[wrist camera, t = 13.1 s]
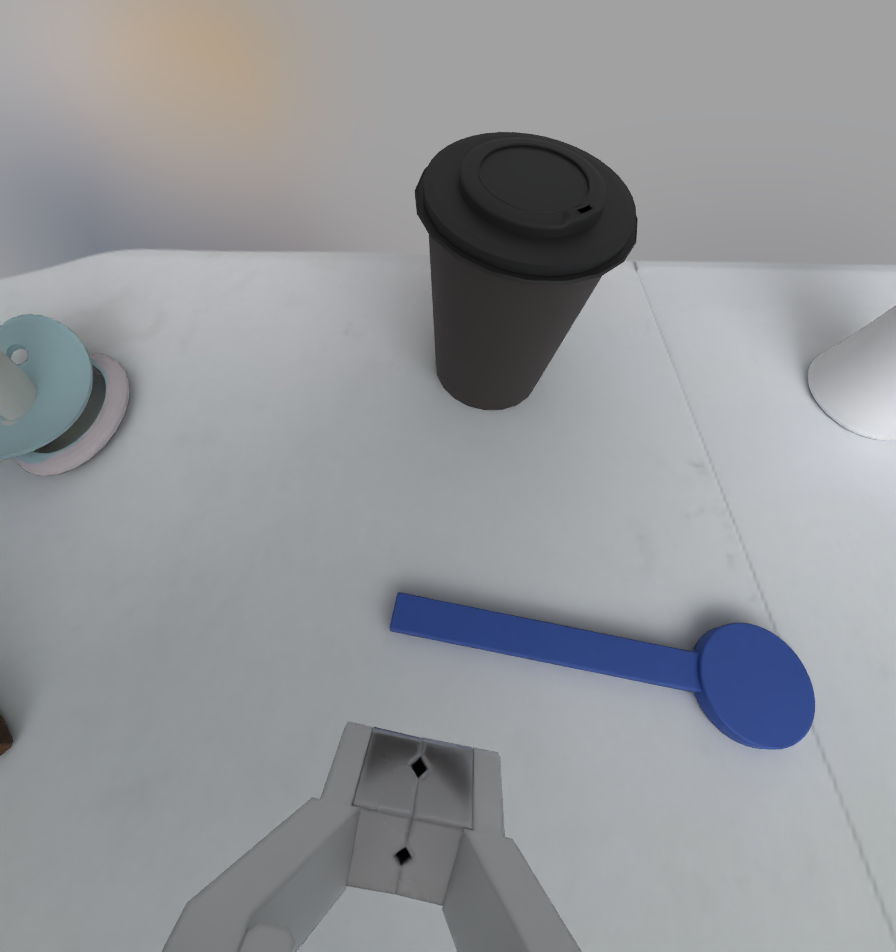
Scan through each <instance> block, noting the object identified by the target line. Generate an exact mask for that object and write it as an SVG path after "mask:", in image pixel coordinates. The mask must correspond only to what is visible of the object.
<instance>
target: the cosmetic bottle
mask: <svg viewBox="0 0 896 952" xmlns="http://www.w3.org/2000/svg"><path fill="white" fill-rule="evenodd" d="M808 384H809V388H810V391H811V393H812V395H813V397H814V399H815V400H816V402H817V403H818V404H819V406H820V407H821V408H822V409H823V410H824V412H825V413H826V414H827V415H829V416H830V417H831V418H832V419H833V420H834V421H836V422H837V423H838V424H840V425H841V426H843V427H845V428H846V429H848V430H850V431H852V432H854V433H856V434H859V435H861V436H864V437H867V438H871V439H875V440H883V441H892V440H896V305H895V306H894V307H893V308H891V309H890V310H888V311H887V312H885V313H884V314H883V315H881V316H880V317H878V318H877V319H875V320H874V321H873V322H871V323H870V324H868V325H867V326H865V327H864V328H862V329H861V330H859V331H858V332H856V333H855V334H853V335H852V336H850V337H848V338H847V339H845V340H844V341H842V342H841V343H839V344H838V345H836V346H834V347H833V348H831V349H829V350H828V351H826V352H824V353H823V354H821V355H819V356H818V357H817V358H816V359H814V361H813V362H812V363H811V365H810V367H809V370H808Z"/></svg>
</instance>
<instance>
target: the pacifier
mask: <svg viewBox="0 0 896 952" xmlns="http://www.w3.org/2000/svg"><path fill="white" fill-rule="evenodd" d="M18 349H25V350H27V351H28V358H27V360H26V361H25V362H24V363H23V364H20V365H16V364H15V363H14V362H13V361H12V360H11V355H12V354H13V352H14V351H16V350H18ZM93 372H94V373H98V374H101V375H102V376H104V379H105V384H106V393H105V400H104V403H103V406H102V409H101V411H100V413H99V414H98V416H97V418H96V420H95V421H94V423H93V424H92V425H91V426H90V428H89V429H88V430H87V431H86V432H85V433H84V434H83V435H82V436H81V437H80V438H78V439H77V440H76V441H75V442H73V443H72V444H70V445H68V446H67V447H65V448H63V449H61V450H58V451H55V452H52V453H42V454H41V453H37V452H35V450H36V449H38V448H40V447H43V446H44V445H46V444H48V443H50V442H52V441H53V440H55V439H56V438H58V437H59V436H61V435H62V434H63V433H64V432H66V431H67V430H68V429H69V428H70V427H71V426H72V425H73V424H74V423H75V422H76V420H77V419H78V418H79V417H80V415H81V414H82V412H83V411H84V409H85V407H86V405H87V403H88V401H89V398H90V395H91V391H92V385H93ZM128 401H129V381H128V377H127V373H126V371H125V370H124V368H123V367H122V365H121V364H120V363H119V362H118V361H116V360H115V359H113V358H112V357H110V356H107V355H103V354H99V353H91V354H88V352H87V350H86V348H85V346H84V345H83V343H82V342H81V340H80V339H79V338H78V337H77V335H76V334H75V333H73V332H72V331H71V330H70V329H69V328H67V327H65V326H64V325H63V324H61V323H60V322H58V321H55V320H53V319H51V318H48V317H45V316H42V315H33V314H28V315H21V316H18V317H14V318H11V319H10V320H8V321H6V322H4V323H3V324H2V325H1V326H0V460H4V459H8V458H12V457H15V459H16V461H17V463H18V465H19V466H21V467H22V468H23V469H25V470H26V471H27V472H29V473H33V474H37V475H41V476H45V475H55V474H61V473H64V472H66V471H69V470H72V469H74V468H76V467H78V466H80V465H81V464H83V463H84V462H86V461H88V460H89V459H91V458H92V457H93V456H94V455H95V454H96V453H97V452H98V451H99V450H101V449H102V448H103V447H104V446H105V445H106V443H107V442H108V441H109V440H110V438H111V437H112V436H113V434H114V433H115V432H116V430H117V428H118V426H119V425H120V423H121V421H122V419H123V417H124V415H125V411H126V408H127V404H128Z"/></svg>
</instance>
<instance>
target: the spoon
mask: <svg viewBox="0 0 896 952" xmlns="http://www.w3.org/2000/svg"><path fill="white" fill-rule="evenodd" d="M390 631H393V632H398V633H403V634H408V635H413V636H417V637H422V638H427V639H432V640H437V641H442V642H447V643H452V644H457V645H462V646H467V647H472V648H477V649H482V650H487V651H492V652H496V653H501V654H506V655H511V656H516V657H521V658H526V659H531V660H536V661H541V662H546V663H551V664H556V665H561V666H566V667H571V668H576V669H580V670H585V671H590V672H595V673H600V674H605V675H610V676H615V677H620V678H625V679H630V680H635V681H640V682H645V683H650V684H655V685H659V686H664V687H669V688H674V689H679V690H684V691H689V692H694V693H695V696H696V698H697V700H698V702H699V704H700V706H701V708H702V709H703V711H704V713H705V714H706V715H707V717H708V718H709V719H710V721H711V722H712V723H713V724H714V725H715V726H716V727H717V728H718V729H719V730H720V731H721V732H723V733H724V734H725V735H727V736H728V737H729V738H731V739H733V740H734V741H736V742H738V743H740V744H743V745H745V746H749V747H752V748H759V749H783V748H788V747H790V746H793V745H794V744H796V743H798V742H799V741H800V740H801V739H802V738H803V737H804V736H805V735H806V734H807V732H808V731H809V729H810V727H811V725H812V722H813V719H814V713H815V697H814V691H813V687H812V684H811V681H810V678H809V676H808V673H807V671H806V669H805V667H804V666H803V664H802V662H801V661H800V659H799V658H798V656H797V655H796V654H795V653H794V651H793V650H792V649H791V648H790V647H789V646H788V645H787V644H786V643H785V642H784V641H783V640H781V639H780V638H779V637H778V636H776V635H775V634H773V633H772V632H770V631H768V630H766V629H764V628H761V627H759V626H756V625H752V624H748V623H731V624H727V625H723V626H720V627H717V628H714V629H712V630H710V631H708V632H707V633H706V634H704V635H703V636H702V637H701V638H700V639H699V641H698V643H697V644H696V646H695V648H694V650H693V652H691V651H686V650H681V649H677V648H672V647H667V646H662V645H657V644H652V643H647V642H642V641H637V640H632V639H627V638H622V637H617V636H612V635H607V634H602V633H597V632H593V631H588V630H583V629H578V628H573V627H568V626H563V625H558V624H553V623H548V622H543V621H538V620H533V619H528V618H523V617H518V616H513V615H509V614H504V613H499V612H494V611H489V610H484V609H479V608H474V607H469V606H464V605H459V604H454V603H449V602H444V601H439V600H434V599H429V598H425V597H420V596H415V595H410V594H405V593H400V592H399V593H398V594H397V598H396V602H395V607H394V611H393V616H392V620H391V624H390Z"/></svg>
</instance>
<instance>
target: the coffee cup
mask: <svg viewBox="0 0 896 952" xmlns="http://www.w3.org/2000/svg"><path fill="white" fill-rule="evenodd" d="M415 199H416V208H417V215H418V216H419V218H420V219H421V221H422V223H423V224H424V226H425V228H426V230H427V231H428V233H429V246H430V264H431V282H432V300H433V318H434V337H435V355H436V368H437V376H438V377H439V379H440V381H441V383H442V385H443V387H444V388H445V389H446V390H447V391H448V392H449V393H450V394H451V395H452V396H453V397H454V398H455V399H457V400H459V401H461V402H463V403H465V404H466V405H468V406H472V407H476V408H480V409H484V410H502V409H505V408H508V407H512V406H515V405H517V404H519V403H520V402H521V401H523V400H524V399H526V398H527V397H528V396H529V395H530V393H531V392H532V390H533V388H534V387H535V385H536V384H537V382H538V380H539V379H540V377H541V375H542V374H543V372H544V371H545V369H546V367H547V366H548V364H549V362H550V361H551V359H552V357H553V356H554V354H555V352H556V351H557V349H558V347H559V346H560V344H561V343H562V341H563V339H564V338H565V336H566V334H567V333H568V331H569V329H570V328H571V326H572V324H573V323H574V321H575V319H576V318H577V316H578V315H579V313H580V311H581V310H582V308H583V306H584V305H585V303H586V301H587V300H588V298H589V296H590V295H591V293H592V291H593V290H594V288H595V287H596V285H597V283H598V282H599V280H600V278H601V277H602V275H604V274H605V273H607V272H608V271H610V270H612V269H613V268H615V267H616V266H618V265H620V264H621V263H623V262H624V261H625V259H626V257H627V256H628V254H629V253H630V251H631V250H632V248H633V246H634V245H635V243H636V235H637V217H636V209H635V204H634V201H633V197H632V195H631V193H630V191H629V190H628V188H627V186H626V185H625V184H624V182H623V181H622V180H621V178H620V177H619V176H618V175H617V174H616V173H615V172H614V171H613V170H612V169H611V168H609V167H608V166H607V165H605V164H604V163H603V162H601V161H600V160H599V159H597V158H595V157H594V156H592V155H590V154H589V153H587V152H585V151H583V150H580V149H579V148H577V147H574V146H572V145H569V144H567V143H564V142H561V141H558V140H555V139H551V138H547V137H543V136H538V135H533V134H525V133H514V132H512V133H511V132H497V133H485V134H480V135H475V136H471V137H467V138H465V139H461V140H459V141H456V142H454V143H453V144H450V145H448V146H447V147H446V148H444V149H443V150H441V151H440V152H439V153H438V154H437V155H436V156H435V157H434V158H433V159H432V160H431V162H430V163H429V165H428V167H426V168H425V170H424V171H423V173H422V176H421V178H420V180H419V182H418V185H417V187H416V189H415Z"/></svg>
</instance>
